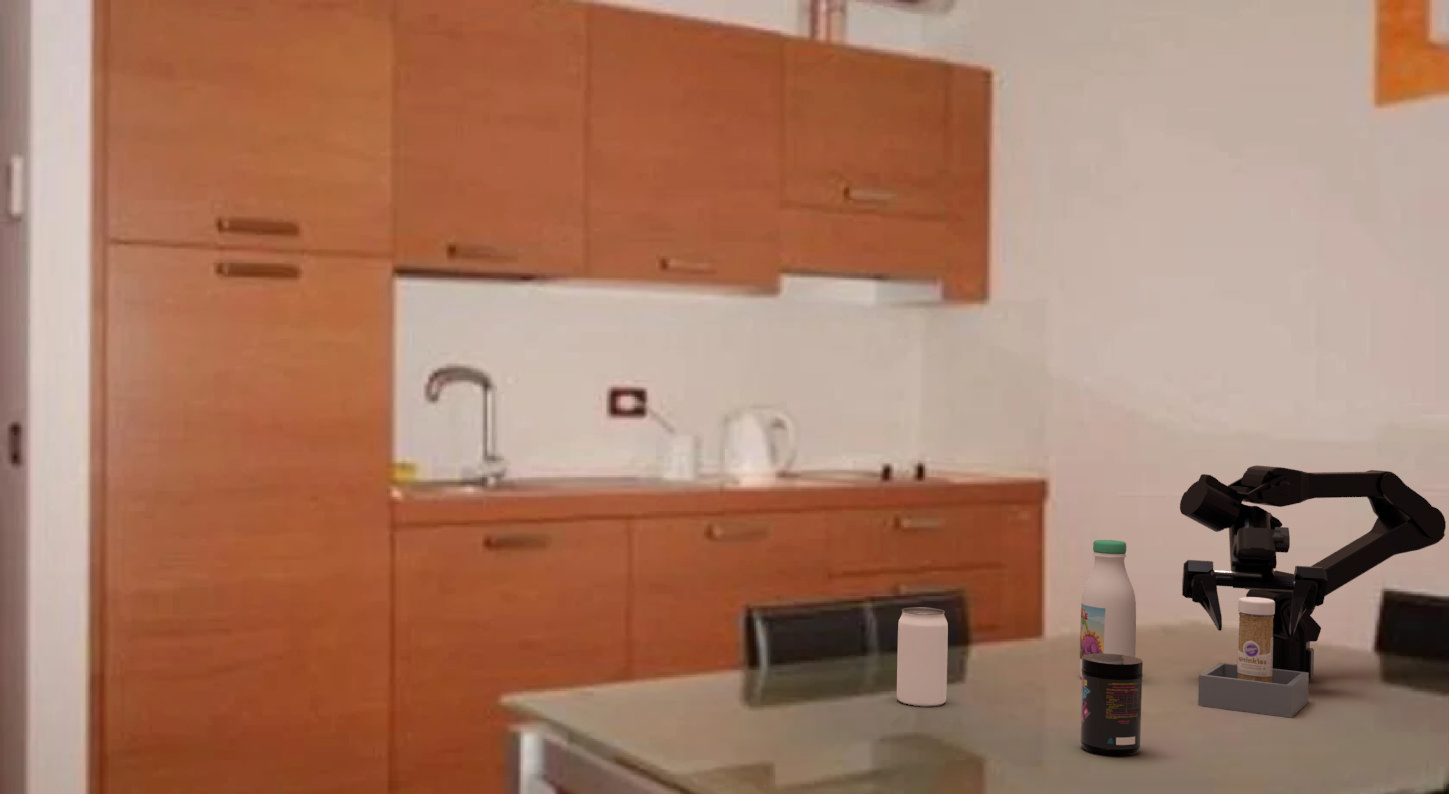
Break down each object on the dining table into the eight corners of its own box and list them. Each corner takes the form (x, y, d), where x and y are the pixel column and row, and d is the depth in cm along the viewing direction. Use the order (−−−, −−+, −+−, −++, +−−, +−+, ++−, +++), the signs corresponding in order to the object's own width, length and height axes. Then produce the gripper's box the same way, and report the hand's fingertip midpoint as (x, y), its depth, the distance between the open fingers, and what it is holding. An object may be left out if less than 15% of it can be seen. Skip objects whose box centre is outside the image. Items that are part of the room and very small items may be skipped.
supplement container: (1114, 741, 161) (1116, 652, 161) (1153, 755, 155) (1155, 662, 155) (1067, 745, 159) (1069, 655, 159) (1105, 760, 153) (1107, 666, 153)
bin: (1198, 705, 182) (1198, 675, 182) (1219, 691, 192) (1219, 662, 192) (1291, 717, 176) (1292, 686, 176) (1308, 702, 186) (1308, 672, 186)
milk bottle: (1129, 675, 202) (1131, 539, 202) (1139, 686, 194) (1142, 544, 194) (1075, 673, 203) (1078, 537, 203) (1084, 683, 195) (1086, 542, 195)
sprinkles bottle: (1236, 700, 183) (1238, 599, 183) (1236, 694, 187) (1238, 595, 187) (1273, 704, 181) (1275, 602, 181) (1272, 697, 185) (1274, 597, 185)
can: (945, 709, 177) (947, 615, 177) (894, 705, 178) (896, 612, 178) (947, 698, 183) (949, 608, 183) (898, 695, 184) (900, 605, 184)
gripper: (1185, 503, 195) (1186, 590, 185) (1327, 509, 190) (1337, 599, 180) (1181, 553, 203) (1182, 639, 192) (1317, 560, 198) (1327, 649, 187)
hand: (1255, 631), depth 188 cm, fingers open, 9 cm apart
